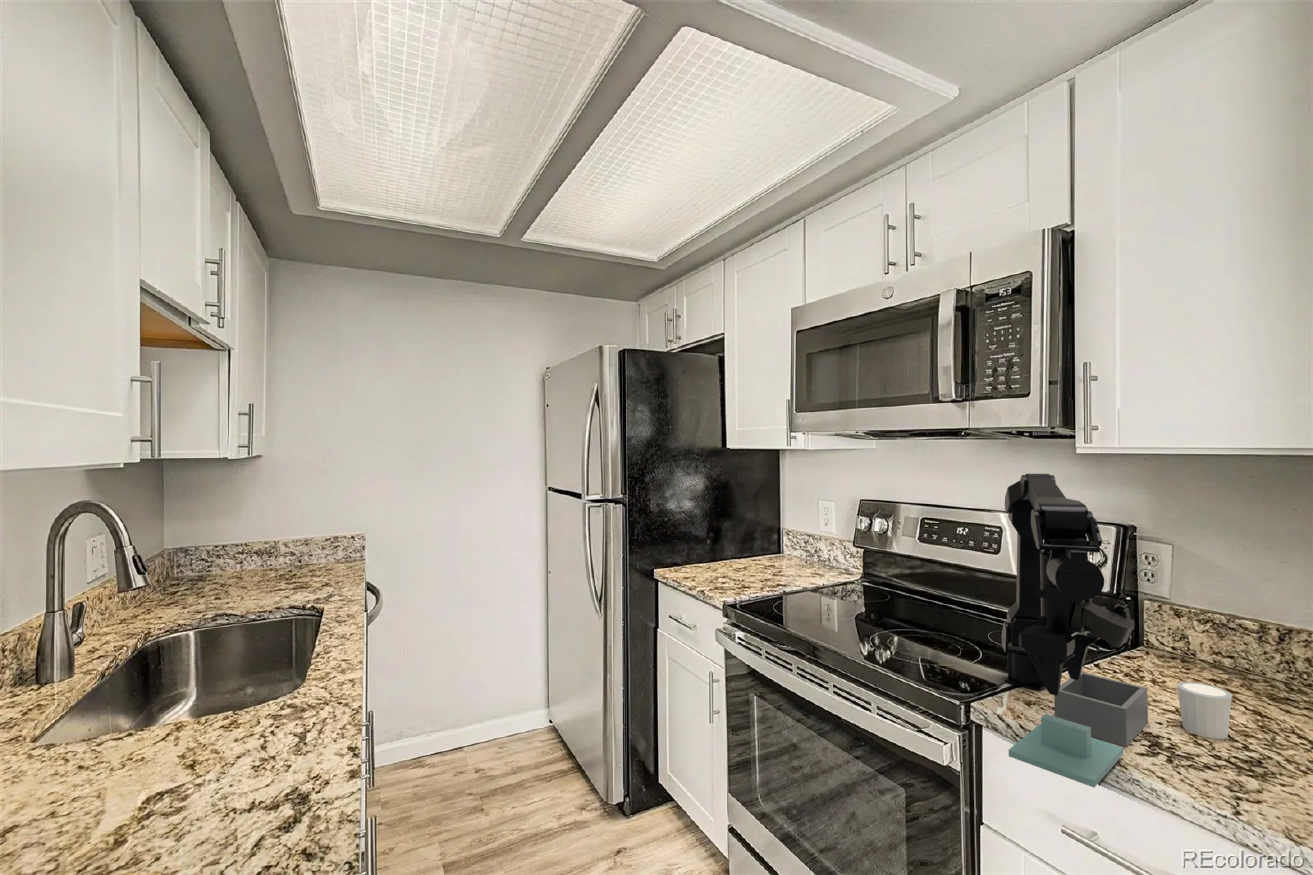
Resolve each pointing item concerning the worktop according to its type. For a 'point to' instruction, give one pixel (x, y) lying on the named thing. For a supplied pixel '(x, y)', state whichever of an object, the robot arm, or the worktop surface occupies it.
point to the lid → (1067, 751)
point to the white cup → (1204, 709)
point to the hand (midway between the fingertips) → (1064, 686)
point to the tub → (1104, 707)
